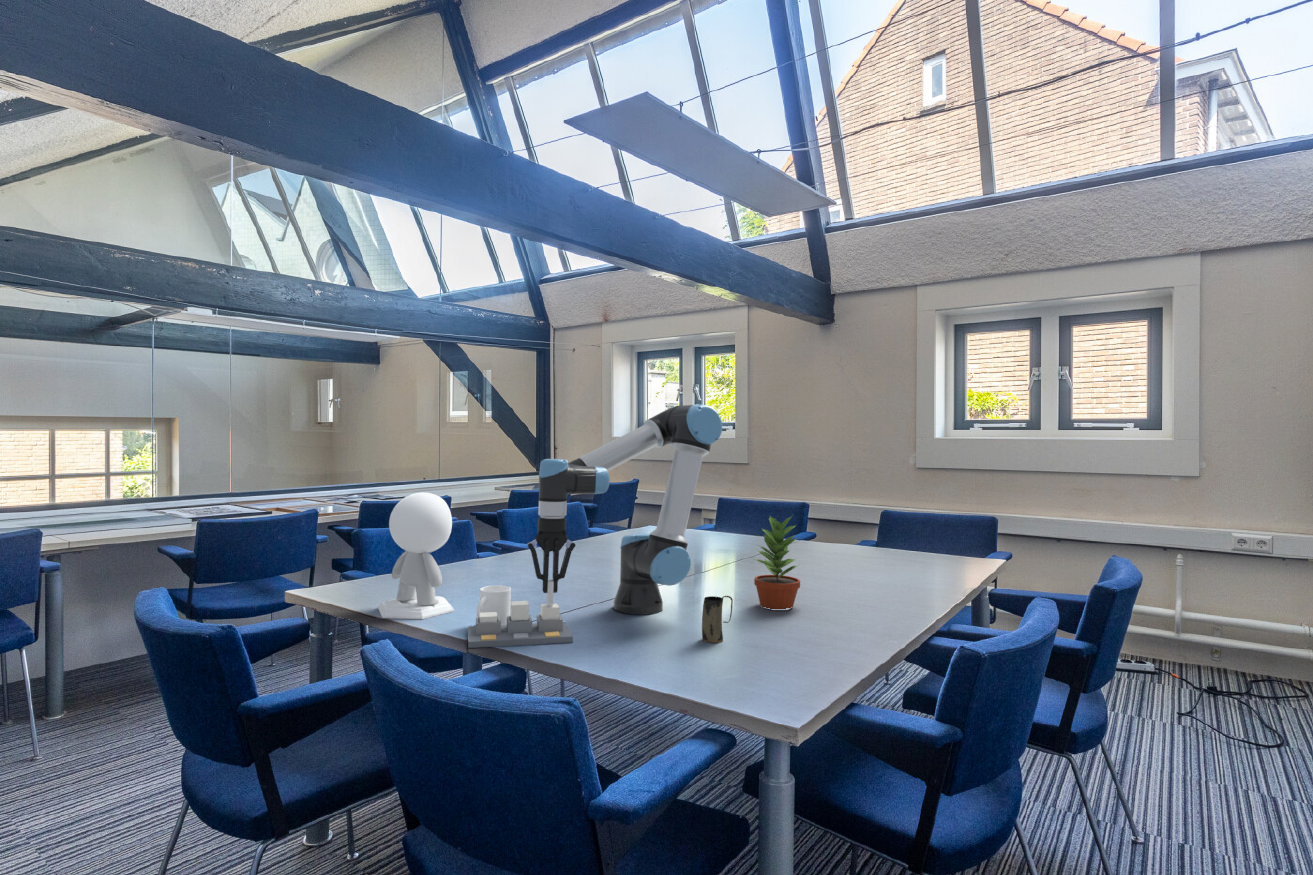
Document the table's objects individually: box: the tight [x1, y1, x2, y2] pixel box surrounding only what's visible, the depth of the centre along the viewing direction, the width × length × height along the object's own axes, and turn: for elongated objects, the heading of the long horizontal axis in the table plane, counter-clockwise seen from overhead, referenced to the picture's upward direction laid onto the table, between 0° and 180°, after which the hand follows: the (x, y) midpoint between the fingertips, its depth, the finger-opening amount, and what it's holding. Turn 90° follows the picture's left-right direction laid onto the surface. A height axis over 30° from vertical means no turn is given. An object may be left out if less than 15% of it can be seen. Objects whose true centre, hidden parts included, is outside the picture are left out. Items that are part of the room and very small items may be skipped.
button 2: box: [510, 600, 530, 621], centre depth 183 cm, size 4×4×4 cm
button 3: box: [479, 612, 497, 623], centre depth 181 cm, size 4×4×4 cm
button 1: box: [540, 602, 560, 620], centre depth 185 cm, size 4×4×4 cm
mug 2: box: [701, 595, 734, 644], centre depth 183 cm, size 8×6×12 cm
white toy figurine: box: [377, 491, 455, 620], centre depth 206 cm, size 20×23×35 cm
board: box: [467, 613, 574, 649], centre depth 181 cm, size 26×14×4 cm, turn 105°
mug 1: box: [476, 585, 512, 625], centre depth 190 cm, size 12×8×10 cm
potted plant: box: [753, 514, 801, 609], centre depth 221 cm, size 15×15×30 cm
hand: (549, 604), depth 185 cm, fingers closed
